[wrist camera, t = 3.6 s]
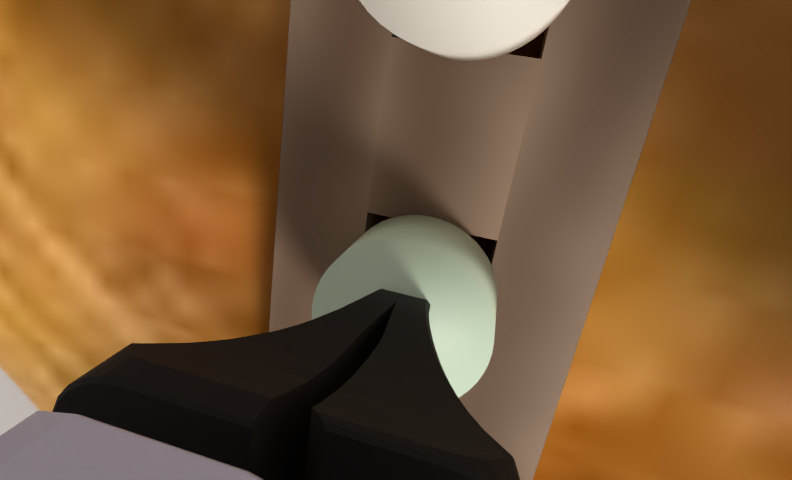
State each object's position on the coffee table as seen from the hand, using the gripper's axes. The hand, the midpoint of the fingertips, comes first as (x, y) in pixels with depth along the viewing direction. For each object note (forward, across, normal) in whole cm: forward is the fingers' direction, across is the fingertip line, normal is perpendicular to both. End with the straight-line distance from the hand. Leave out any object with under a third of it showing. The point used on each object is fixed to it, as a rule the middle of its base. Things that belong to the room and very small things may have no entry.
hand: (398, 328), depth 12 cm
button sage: (+4, 0, 0) cm, 4 cm away
